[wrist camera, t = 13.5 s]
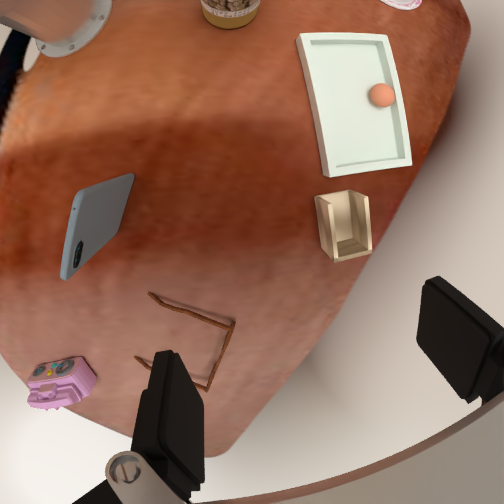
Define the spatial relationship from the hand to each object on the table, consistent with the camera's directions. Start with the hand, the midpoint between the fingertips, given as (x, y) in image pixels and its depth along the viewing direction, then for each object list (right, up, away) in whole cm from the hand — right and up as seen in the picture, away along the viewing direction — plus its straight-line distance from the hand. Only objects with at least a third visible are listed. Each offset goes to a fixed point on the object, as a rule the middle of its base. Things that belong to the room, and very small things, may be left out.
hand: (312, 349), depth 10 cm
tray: (+11, +22, +22) cm, 34 cm away
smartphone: (-18, +9, +25) cm, 32 cm away
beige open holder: (+9, +8, +28) cm, 30 cm away
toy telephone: (-38, -19, +34) cm, 54 cm away
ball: (+14, +22, +19) cm, 33 cm away
